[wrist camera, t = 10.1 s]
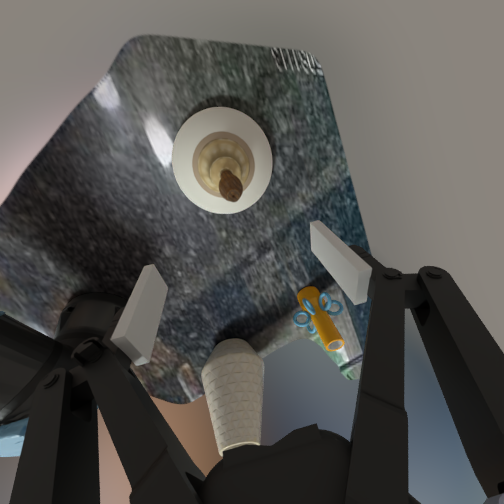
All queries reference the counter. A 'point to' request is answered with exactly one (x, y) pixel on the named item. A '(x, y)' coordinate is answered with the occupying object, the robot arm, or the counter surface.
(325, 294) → the cylinder
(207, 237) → the counter surface
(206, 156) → the hand bell
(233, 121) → the hub plate
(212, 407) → the vase
